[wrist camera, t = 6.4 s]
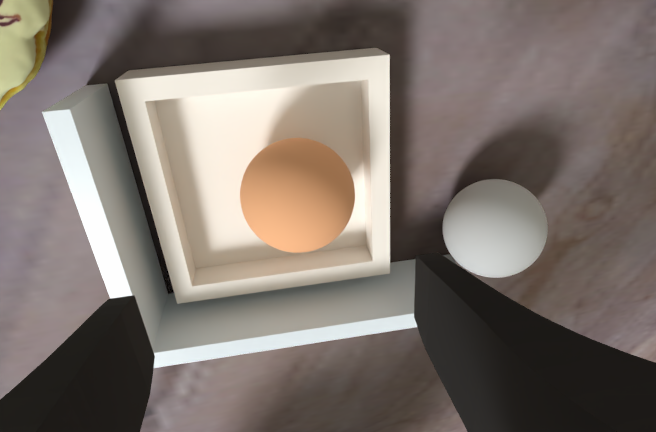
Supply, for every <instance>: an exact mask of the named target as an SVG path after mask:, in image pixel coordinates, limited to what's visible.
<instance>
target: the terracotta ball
mask: <svg viewBox="0 0 656 432" xmlns="http://www.w3.org/2000/svg"><path fill="white" fill-rule="evenodd" d="M240 202H241V208H242V212H243V215H244V217H245V220H246V222H247V223H248V225H249V227H250V228H251V230H252V231H253V232H254V233H255V234H256V235H257V236H258V237H259V238H260V239H261V240H262V241H264V242H265V243H267V244H268V245H270V246H272V247H274V248H276V249H279V250H282V251H286V252H293V253H301V252H309V251H313V250H316V249H319V248H322V247H324V246H326V245H327V244H329V243H330V242H332V241H333V240H334V239H335V238H337V237H338V236H339V235H340V234H341V232H342V231H343V230H344V229H345V227H346V226H347V224H348V222H349V220H350V218H351V215H352V212H353V208H354V203H355V189H354V182H353V179H352V176H351V173H350V171H349V169H348V167H347V165H346V164H345V162H344V161H343V160H342V158H341V157H340V156H339V155H338V154H337V153H336V152H335V151H333V150H332V149H331V148H329V147H328V146H326V145H324V144H322V143H320V142H318V141H314V140H311V139H306V138H289V139H284V140H280V141H277V142H275V143H272V144H270V145H269V146H267V147H266V148H264V149H263V150H261V151H260V152H259V153H258V154H257V155H256V156H255V157H254V158H253V159H252V161H251V162H250V163H249V165H248V167H247V169H246V171H245V173H244V175H243V179H242V182H241V188H240Z"/></svg>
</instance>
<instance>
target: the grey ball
mask: <svg viewBox="0 0 656 432" xmlns="http://www.w3.org/2000/svg"><path fill="white" fill-rule="evenodd" d="M547 233H548V224H547V218H546V215H545V212H544V209H543V207H542V206H541V204H540V202H539V201H538V199H537V198H536V197H535V196H534V195H533V194H532V193H531V192H530V191H528V190H527V189H526V188H524V187H522V186H521V185H519V184H516V183H514V182H511V181H507V180H501V179H488V180H482V181H478V182H475V183H473V184H471V185H469V186H467V187H465V188H464V189H463V190H461V191H460V192H459V193H458V194H457V195H456V196H455V197H454V198H453V199H452V201H451V202H450V204H449V205H448V207H447V209H446V212H445V215H444V219H443V237H444V241H445V244H446V247H447V249H448V250H449V252H450V254H451V255H452V257H453V258H454V259H455V260H456V261H457V262H458V263H459V264H460V265H461V266H462V267H464V268H465V269H467V270H468V271H470V272H472V273H475V274H477V275H480V276H484V277H491V278H501V277H507V276H511V275H514V274H517V273H519V272H521V271H523V270H525V269H526V268H528V267H529V266H530V265H531V264H532V263H534V262H535V260H536V259H537V258H538V257H539V255H540V254H541V252H542V250H543V248H544V246H545V243H546V240H547Z"/></svg>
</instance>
